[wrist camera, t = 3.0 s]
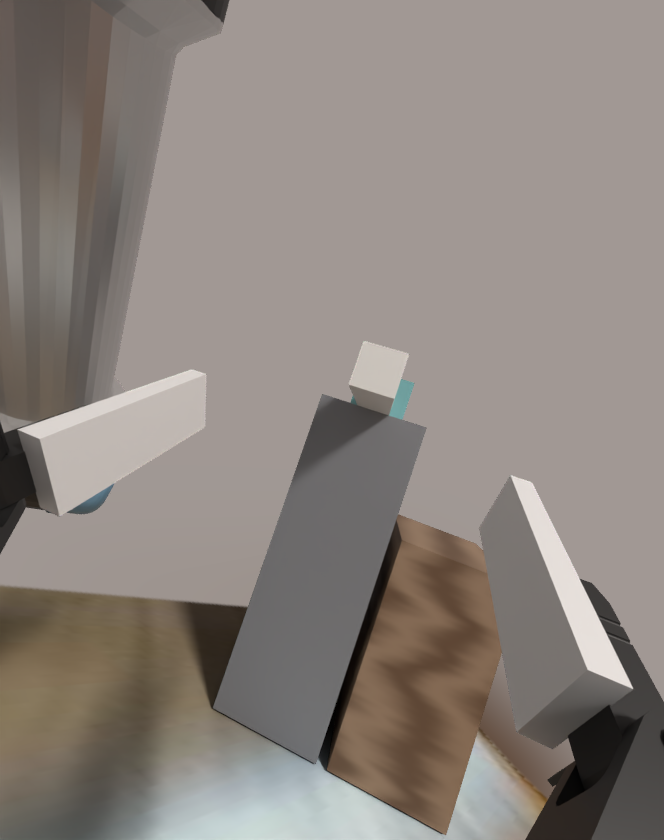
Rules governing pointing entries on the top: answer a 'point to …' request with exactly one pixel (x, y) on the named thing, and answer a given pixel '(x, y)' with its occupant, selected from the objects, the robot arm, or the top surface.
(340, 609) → the tower
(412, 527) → the tall wooden pillar
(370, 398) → the bar
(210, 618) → the top surface
